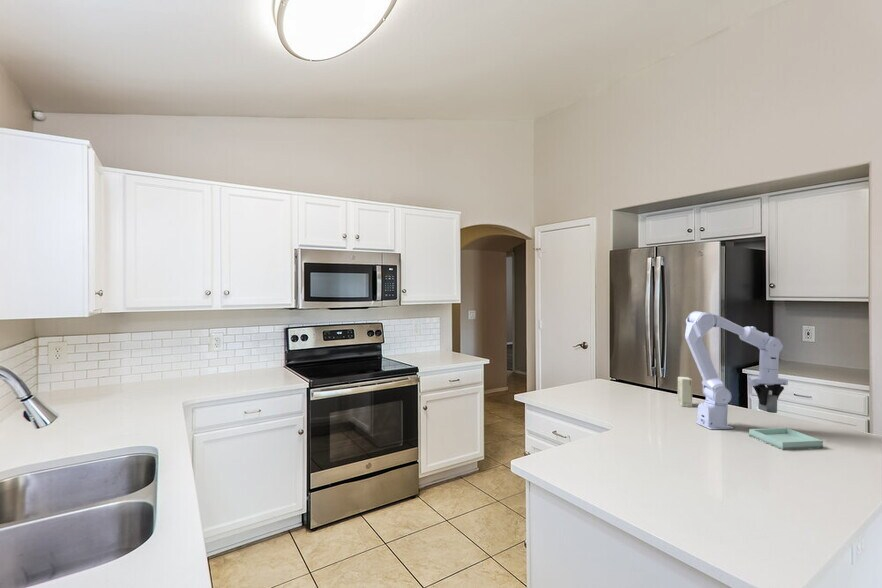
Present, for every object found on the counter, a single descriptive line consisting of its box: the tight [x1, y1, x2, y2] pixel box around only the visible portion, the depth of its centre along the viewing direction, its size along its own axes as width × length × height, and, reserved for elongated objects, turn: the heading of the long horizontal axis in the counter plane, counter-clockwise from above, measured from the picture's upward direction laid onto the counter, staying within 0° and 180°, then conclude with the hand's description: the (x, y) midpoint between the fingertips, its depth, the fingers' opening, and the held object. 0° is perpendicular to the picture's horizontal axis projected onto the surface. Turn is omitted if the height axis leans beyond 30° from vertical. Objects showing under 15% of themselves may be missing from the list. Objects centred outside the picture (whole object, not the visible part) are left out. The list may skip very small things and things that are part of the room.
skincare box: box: [677, 376, 693, 408], centre depth 194 cm, size 6×4×12 cm
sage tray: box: [748, 427, 824, 451], centre depth 149 cm, size 15×13×2 cm
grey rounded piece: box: [757, 390, 779, 414], centre depth 163 cm, size 4×6×8 cm, turn 8°
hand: (767, 404), depth 163 cm, fingers closed on grey rounded piece, 3 cm apart
